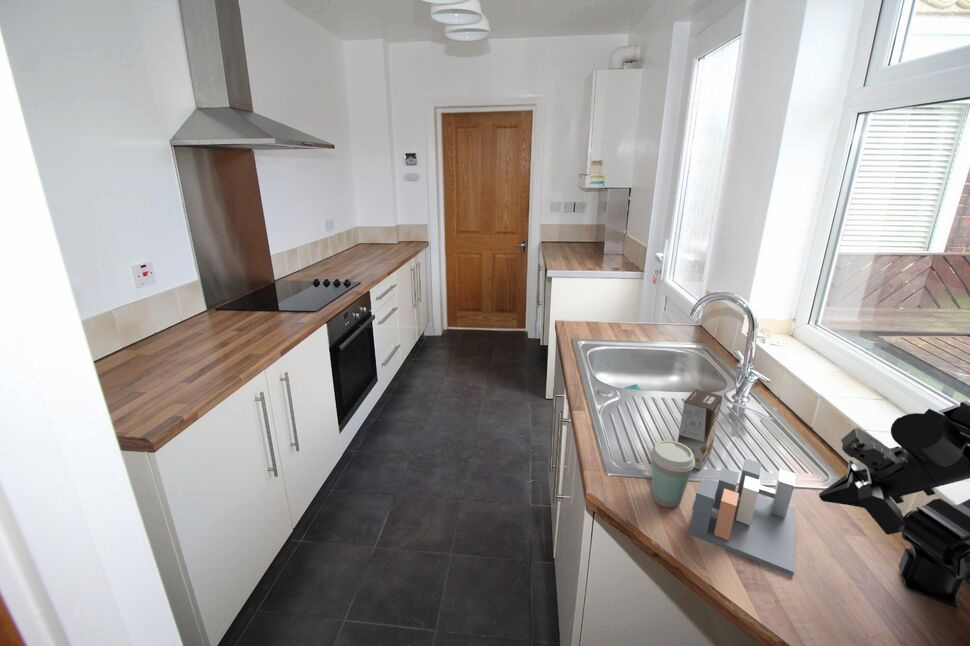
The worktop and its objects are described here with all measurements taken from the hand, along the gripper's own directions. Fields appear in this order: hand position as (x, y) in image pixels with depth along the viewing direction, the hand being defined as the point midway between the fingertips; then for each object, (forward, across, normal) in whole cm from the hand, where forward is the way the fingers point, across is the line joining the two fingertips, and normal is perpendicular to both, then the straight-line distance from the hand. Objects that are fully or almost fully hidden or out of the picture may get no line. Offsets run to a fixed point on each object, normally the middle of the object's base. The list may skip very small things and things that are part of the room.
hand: (820, 497), depth 78 cm
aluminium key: (+13, -8, +3) cm, 16 cm away
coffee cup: (+26, -1, -8) cm, 28 cm away
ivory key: (+17, -2, -1) cm, 17 cm away
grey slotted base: (+16, -2, +2) cm, 16 cm away
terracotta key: (+19, +4, -3) cm, 20 cm away
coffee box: (+25, -20, -7) cm, 33 cm away
